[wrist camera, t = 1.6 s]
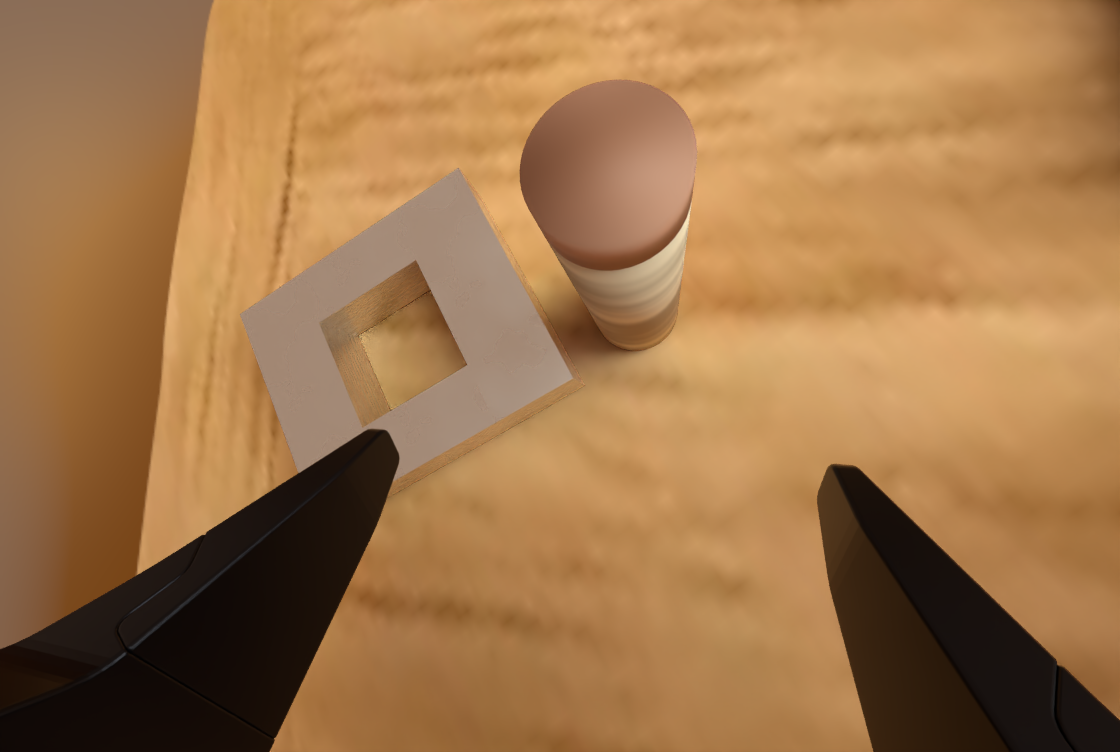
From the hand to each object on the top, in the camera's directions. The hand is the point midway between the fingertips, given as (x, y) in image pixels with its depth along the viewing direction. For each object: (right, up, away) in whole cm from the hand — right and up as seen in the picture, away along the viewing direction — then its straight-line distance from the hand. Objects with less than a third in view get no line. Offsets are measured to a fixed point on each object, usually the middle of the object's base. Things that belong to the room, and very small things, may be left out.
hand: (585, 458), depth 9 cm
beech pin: (+3, +5, +13) cm, 14 cm away
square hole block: (-8, +3, +15) cm, 18 cm away
